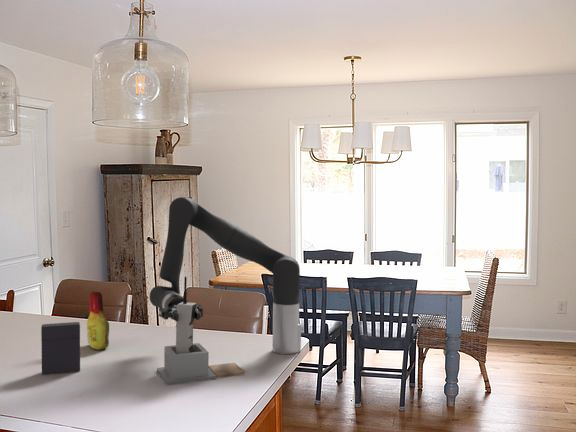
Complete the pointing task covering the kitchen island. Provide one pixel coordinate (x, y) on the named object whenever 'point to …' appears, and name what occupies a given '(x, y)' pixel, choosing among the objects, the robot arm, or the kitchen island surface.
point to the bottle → (97, 323)
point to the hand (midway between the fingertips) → (187, 317)
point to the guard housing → (185, 366)
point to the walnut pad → (226, 370)
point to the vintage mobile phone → (185, 325)
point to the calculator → (60, 348)
